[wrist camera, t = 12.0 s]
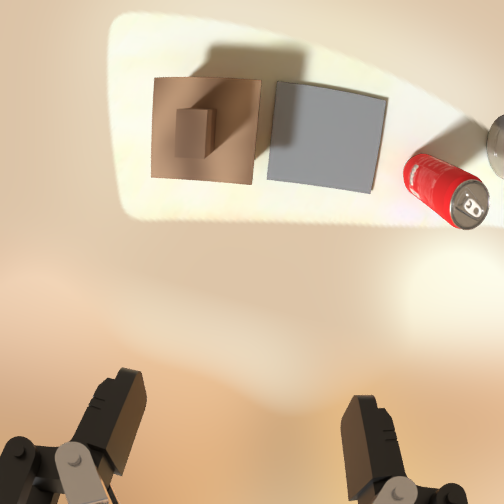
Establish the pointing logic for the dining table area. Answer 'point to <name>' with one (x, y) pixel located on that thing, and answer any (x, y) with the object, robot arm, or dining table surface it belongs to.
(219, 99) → the lid
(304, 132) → the mat
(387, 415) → the robot arm
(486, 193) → the beverage can
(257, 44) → the dining table surface
